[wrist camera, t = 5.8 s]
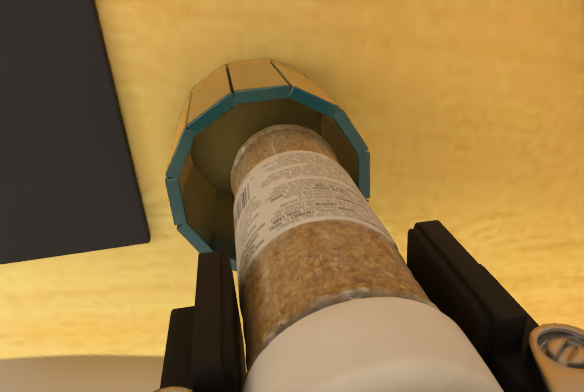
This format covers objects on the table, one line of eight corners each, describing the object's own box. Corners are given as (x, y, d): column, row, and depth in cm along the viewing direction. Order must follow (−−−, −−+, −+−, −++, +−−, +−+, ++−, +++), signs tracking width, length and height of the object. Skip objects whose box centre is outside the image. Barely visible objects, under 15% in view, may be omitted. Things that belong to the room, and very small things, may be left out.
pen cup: (326, 52, 23) (369, 75, 17) (332, 195, 27) (371, 259, 20) (165, 69, 23) (148, 100, 16) (193, 215, 26) (187, 288, 20)
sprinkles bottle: (309, 234, 21) (435, 584, 9) (212, 201, 19) (202, 561, 7) (355, 142, 19) (587, 412, 7) (254, 100, 18) (326, 344, 6)
